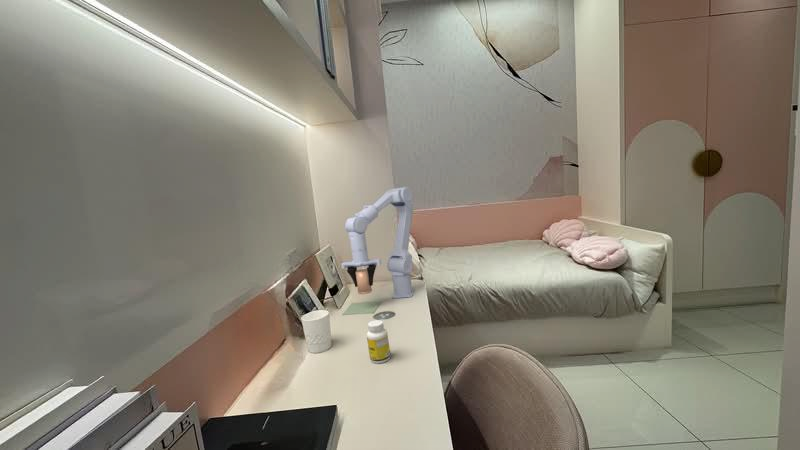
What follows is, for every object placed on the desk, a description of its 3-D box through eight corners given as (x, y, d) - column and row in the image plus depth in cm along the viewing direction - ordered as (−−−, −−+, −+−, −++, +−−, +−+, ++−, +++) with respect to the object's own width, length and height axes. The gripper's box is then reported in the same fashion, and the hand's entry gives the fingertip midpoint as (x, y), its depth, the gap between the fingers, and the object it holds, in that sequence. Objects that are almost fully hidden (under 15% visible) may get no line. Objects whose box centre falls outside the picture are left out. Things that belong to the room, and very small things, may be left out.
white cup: (336, 340, 106) (332, 309, 105) (329, 353, 98) (323, 319, 97) (312, 342, 107) (307, 311, 106) (302, 355, 99) (296, 321, 98)
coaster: (375, 313, 127) (375, 311, 127) (397, 311, 126) (397, 310, 126) (370, 321, 119) (370, 320, 119) (393, 320, 118) (393, 319, 118)
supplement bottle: (367, 357, 93) (362, 322, 92) (386, 351, 94) (382, 317, 93) (373, 366, 88) (368, 328, 87) (393, 360, 89) (388, 323, 88)
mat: (351, 303, 140) (351, 303, 140) (380, 301, 138) (380, 301, 138) (342, 315, 128) (342, 314, 128) (373, 313, 126) (373, 312, 126)
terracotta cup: (360, 290, 132) (357, 269, 132) (373, 289, 132) (370, 268, 131) (356, 294, 127) (353, 273, 127) (370, 293, 127) (367, 272, 126)
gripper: (336, 253, 125) (342, 290, 127) (376, 249, 123) (381, 287, 124) (342, 249, 132) (347, 284, 133) (380, 246, 130) (384, 281, 131)
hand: (364, 285), depth 129 cm, fingers closed on terracotta cup, 5 cm apart
